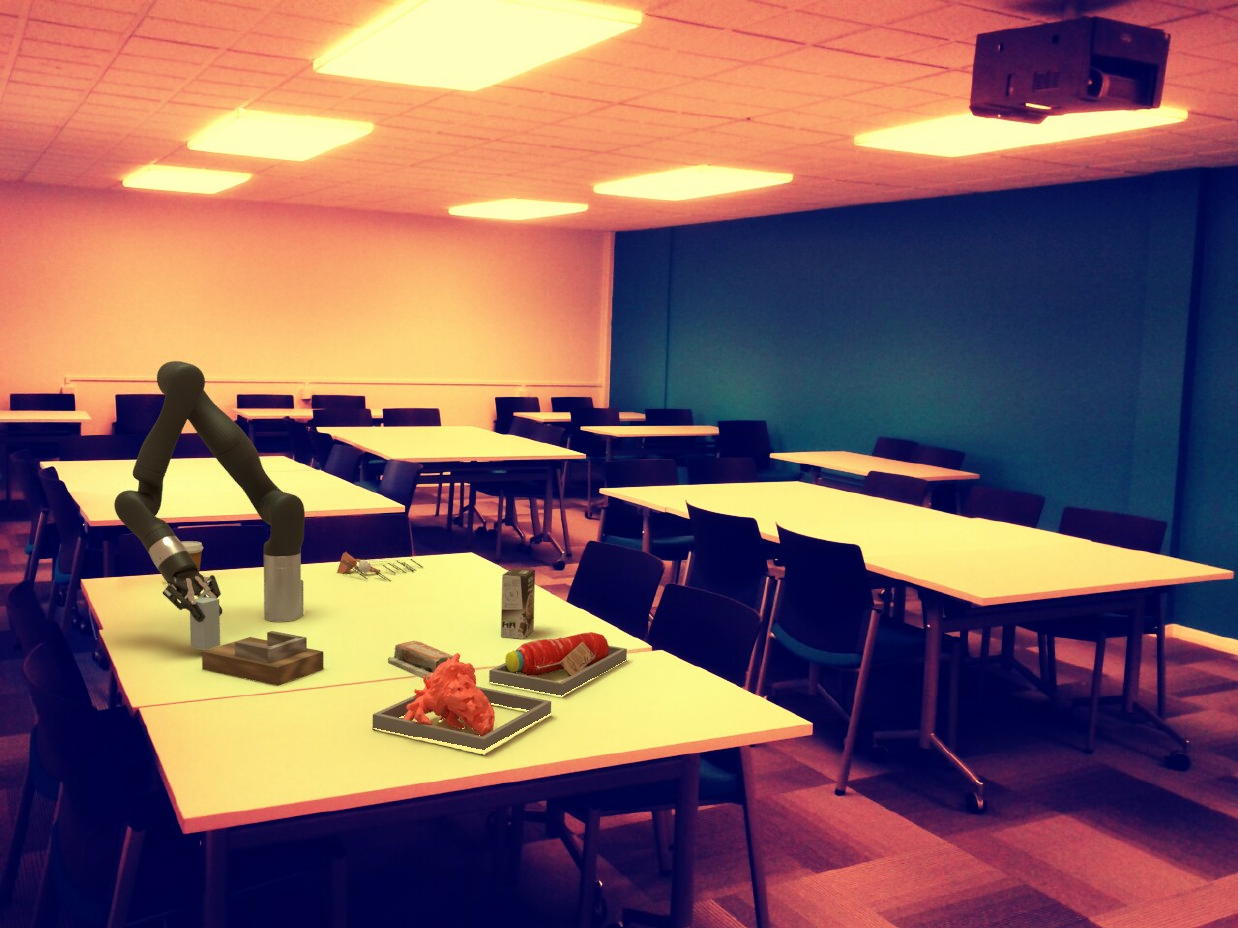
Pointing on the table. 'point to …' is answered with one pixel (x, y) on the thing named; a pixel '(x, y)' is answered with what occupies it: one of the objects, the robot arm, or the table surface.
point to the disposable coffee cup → (194, 551)
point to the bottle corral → (554, 687)
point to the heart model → (453, 698)
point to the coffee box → (517, 603)
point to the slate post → (206, 625)
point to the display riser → (265, 658)
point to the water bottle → (558, 654)
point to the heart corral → (393, 723)
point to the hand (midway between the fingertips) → (210, 617)
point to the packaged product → (418, 658)
